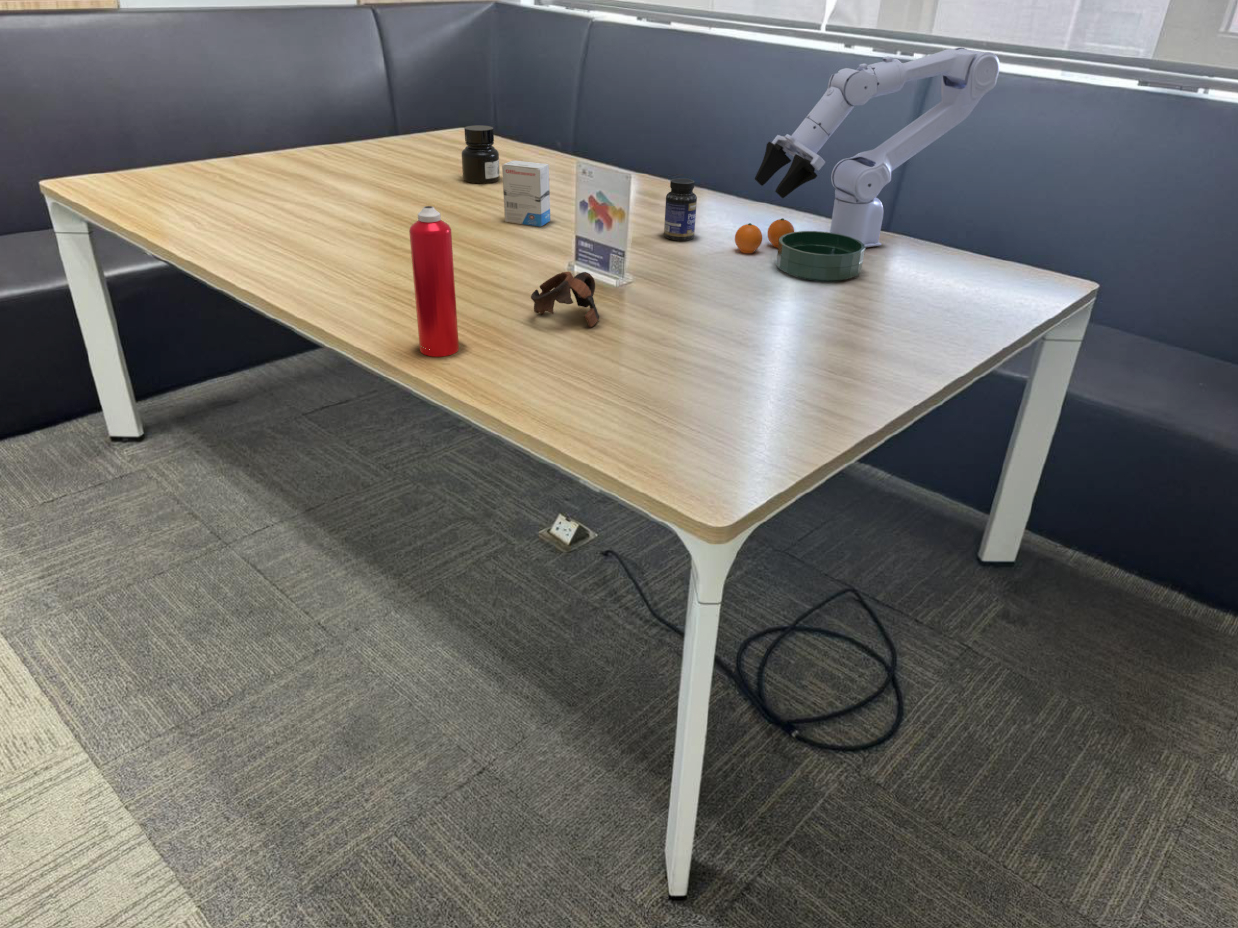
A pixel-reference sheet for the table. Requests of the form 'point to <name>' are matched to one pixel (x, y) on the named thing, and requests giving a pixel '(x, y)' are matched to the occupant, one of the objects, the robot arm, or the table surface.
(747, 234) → the clementine
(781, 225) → the clementine
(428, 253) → the bottle
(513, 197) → the ink box
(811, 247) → the bowl
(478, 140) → the ink bottle
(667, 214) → the pill bottle
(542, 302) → the brown curved broken pieces
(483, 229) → the table surface
